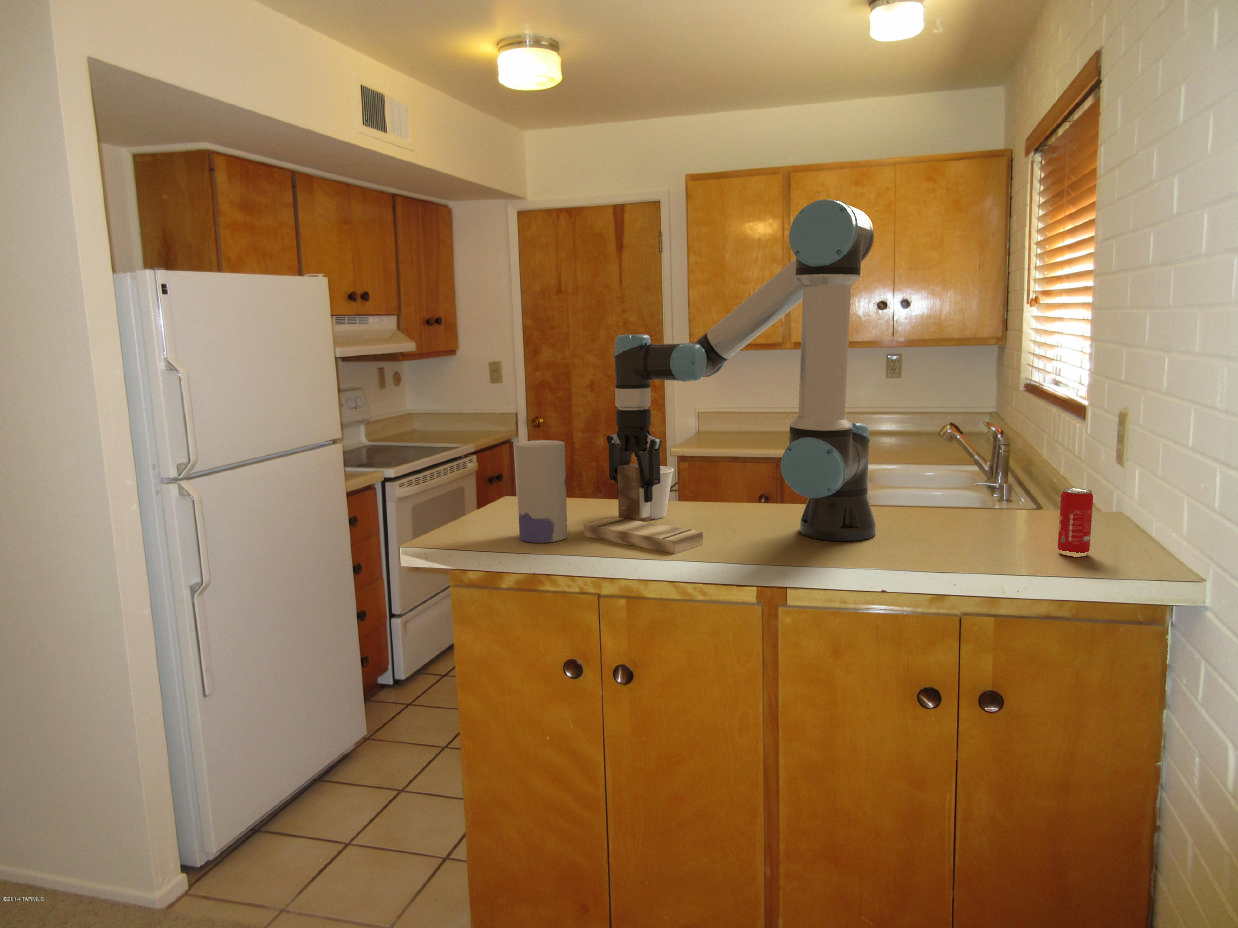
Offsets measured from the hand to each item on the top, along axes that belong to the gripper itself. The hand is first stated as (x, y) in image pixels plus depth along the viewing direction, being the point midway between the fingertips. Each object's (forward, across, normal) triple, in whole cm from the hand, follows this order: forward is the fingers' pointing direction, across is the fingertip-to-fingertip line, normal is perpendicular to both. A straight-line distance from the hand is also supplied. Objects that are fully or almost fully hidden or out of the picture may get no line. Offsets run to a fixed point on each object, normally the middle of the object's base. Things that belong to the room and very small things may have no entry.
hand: (634, 514), depth 185 cm
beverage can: (+3, -79, -31) cm, 85 cm away
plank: (+3, -8, +8) cm, 11 cm away
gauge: (+1, 0, 0) cm, 1 cm away
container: (+3, +10, +18) cm, 21 cm away
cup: (+3, +4, -11) cm, 12 cm away
